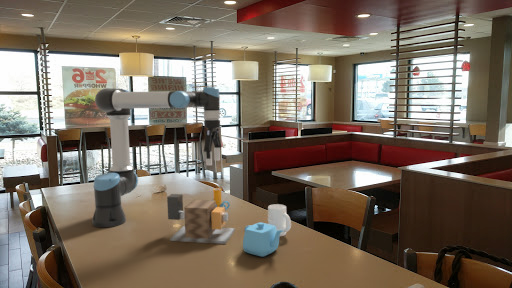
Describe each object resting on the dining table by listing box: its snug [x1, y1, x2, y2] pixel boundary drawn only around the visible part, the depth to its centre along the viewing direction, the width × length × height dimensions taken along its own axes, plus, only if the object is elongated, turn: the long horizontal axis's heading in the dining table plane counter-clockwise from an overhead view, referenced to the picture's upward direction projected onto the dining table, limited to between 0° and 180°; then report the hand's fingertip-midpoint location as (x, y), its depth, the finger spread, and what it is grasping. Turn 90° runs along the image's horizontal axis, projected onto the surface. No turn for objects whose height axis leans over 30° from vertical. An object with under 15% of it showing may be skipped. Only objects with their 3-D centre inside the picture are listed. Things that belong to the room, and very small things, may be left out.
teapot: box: [242, 221, 284, 258], centre depth 145 cm, size 12×18×12 cm
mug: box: [267, 203, 292, 237], centre depth 164 cm, size 8×12×12 cm
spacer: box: [211, 206, 226, 230], centre depth 162 cm, size 4×7×7 cm, turn 170°
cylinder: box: [210, 187, 230, 212], centre depth 186 cm, size 12×10×15 cm
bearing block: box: [169, 199, 235, 245], centre depth 164 cm, size 24×16×14 cm, turn 80°
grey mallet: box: [166, 193, 229, 222], centre depth 163 cm, size 26×5×10 cm, turn 80°
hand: (213, 162), depth 184 cm, fingers open, 13 cm apart
